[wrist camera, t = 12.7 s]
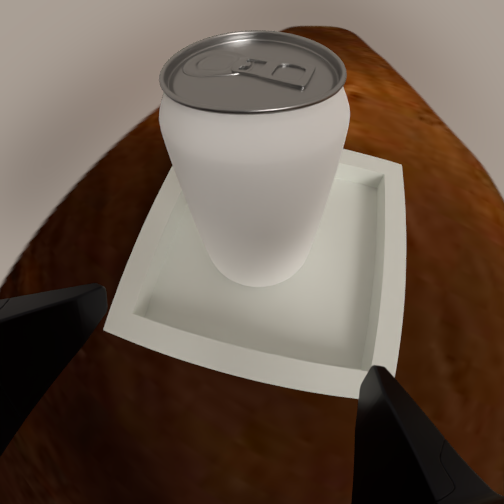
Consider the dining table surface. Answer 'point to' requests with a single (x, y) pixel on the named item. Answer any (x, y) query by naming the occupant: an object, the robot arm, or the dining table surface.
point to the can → (255, 146)
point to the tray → (277, 291)
